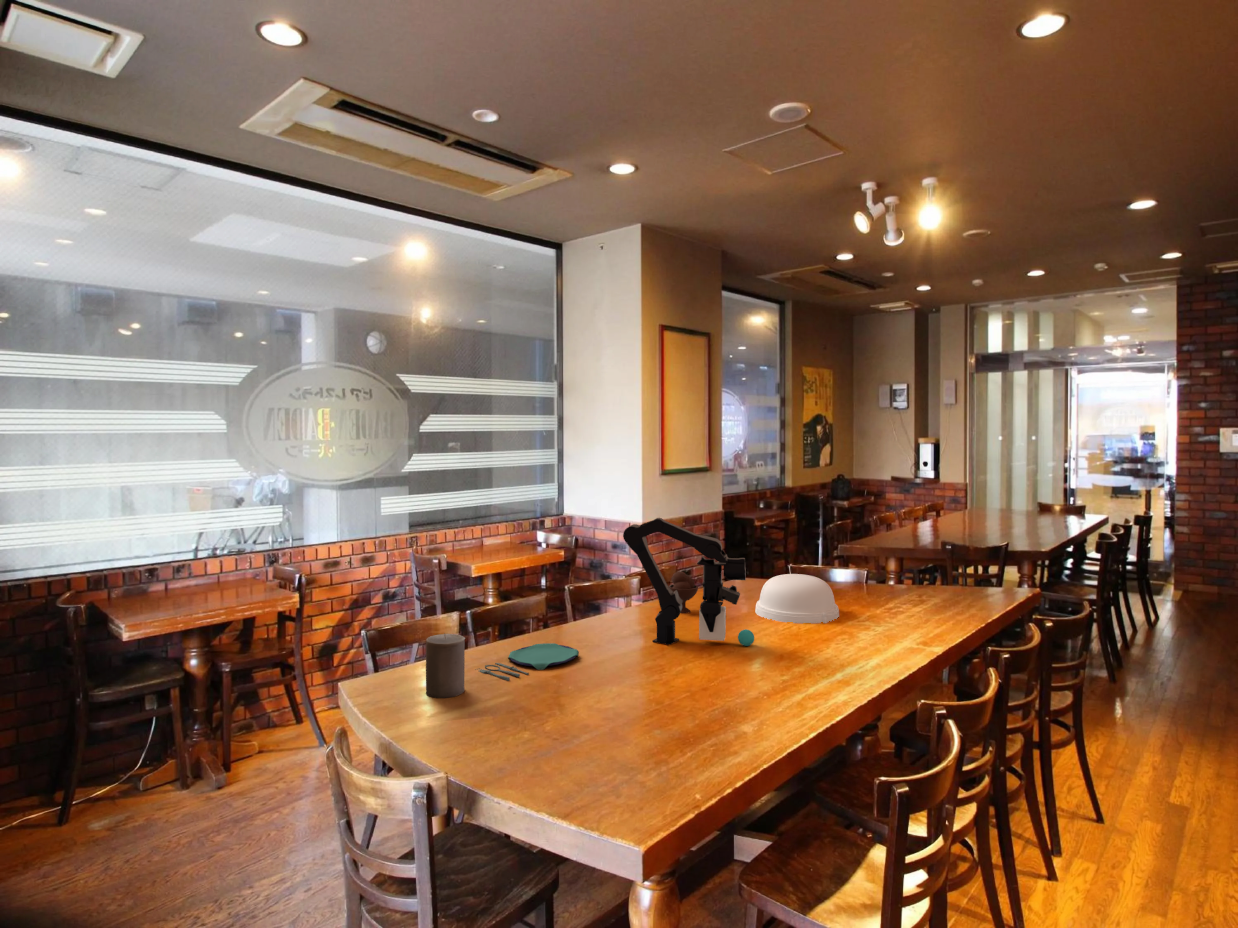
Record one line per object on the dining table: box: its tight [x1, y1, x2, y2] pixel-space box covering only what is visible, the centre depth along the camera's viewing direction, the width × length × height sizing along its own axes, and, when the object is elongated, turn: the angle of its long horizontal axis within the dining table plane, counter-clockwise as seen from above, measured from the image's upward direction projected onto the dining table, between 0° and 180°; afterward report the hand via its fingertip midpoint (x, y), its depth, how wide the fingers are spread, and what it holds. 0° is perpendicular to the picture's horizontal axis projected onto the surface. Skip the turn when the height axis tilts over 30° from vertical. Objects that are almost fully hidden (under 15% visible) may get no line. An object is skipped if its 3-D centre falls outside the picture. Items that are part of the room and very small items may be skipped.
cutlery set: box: [474, 642, 580, 682], centre depth 211 cm, size 20×30×2 cm, turn 137°
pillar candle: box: [425, 633, 466, 699], centre depth 186 cm, size 10×10×15 cm
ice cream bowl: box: [668, 571, 699, 614], centre depth 271 cm, size 11×11×15 cm
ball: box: [737, 629, 755, 647], centre depth 227 cm, size 5×5×5 cm
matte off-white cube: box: [698, 605, 727, 642], centre depth 229 cm, size 8×8×9 cm
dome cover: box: [755, 573, 840, 624], centre depth 269 cm, size 32×30×14 cm
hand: (712, 628), depth 229 cm, fingers closed on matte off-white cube, 8 cm apart
